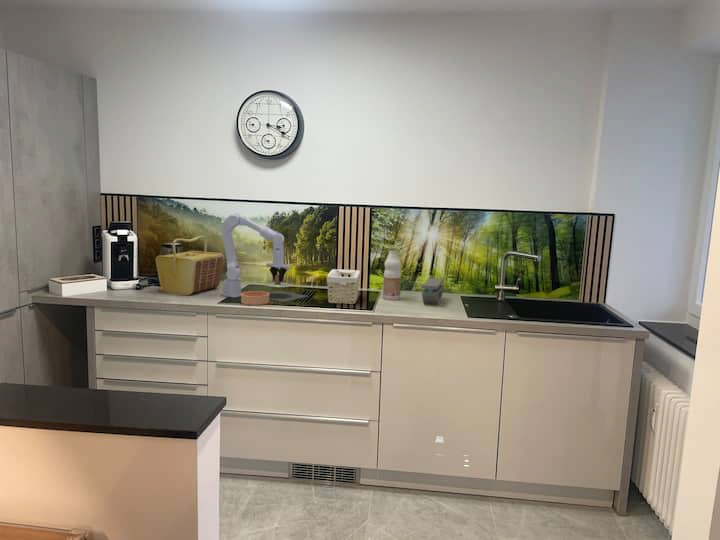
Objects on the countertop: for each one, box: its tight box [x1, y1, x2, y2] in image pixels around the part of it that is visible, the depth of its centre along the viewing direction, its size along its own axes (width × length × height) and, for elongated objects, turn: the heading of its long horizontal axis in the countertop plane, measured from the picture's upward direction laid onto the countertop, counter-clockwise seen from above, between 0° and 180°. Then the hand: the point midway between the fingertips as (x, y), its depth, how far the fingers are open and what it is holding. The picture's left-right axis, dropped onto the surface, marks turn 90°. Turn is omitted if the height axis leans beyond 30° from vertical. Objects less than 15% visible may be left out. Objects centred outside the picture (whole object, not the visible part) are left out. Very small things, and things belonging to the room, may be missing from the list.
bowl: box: [240, 290, 270, 306], centre depth 296 cm, size 14×14×4 cm
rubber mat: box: [268, 290, 309, 304], centre depth 311 cm, size 22×20×1 cm
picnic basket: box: [155, 235, 225, 296], centre depth 320 cm, size 29×26×30 cm
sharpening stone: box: [421, 277, 445, 306], centre depth 310 cm, size 25×8×11 cm, turn 164°
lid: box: [262, 274, 293, 288], centre depth 310 cm, size 15×15×6 cm
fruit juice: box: [382, 247, 402, 301], centre depth 314 cm, size 9×9×28 cm
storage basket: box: [326, 268, 361, 305], centre depth 309 cm, size 24×16×15 cm
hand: (278, 281), depth 310 cm, fingers closed on lid, 3 cm apart
